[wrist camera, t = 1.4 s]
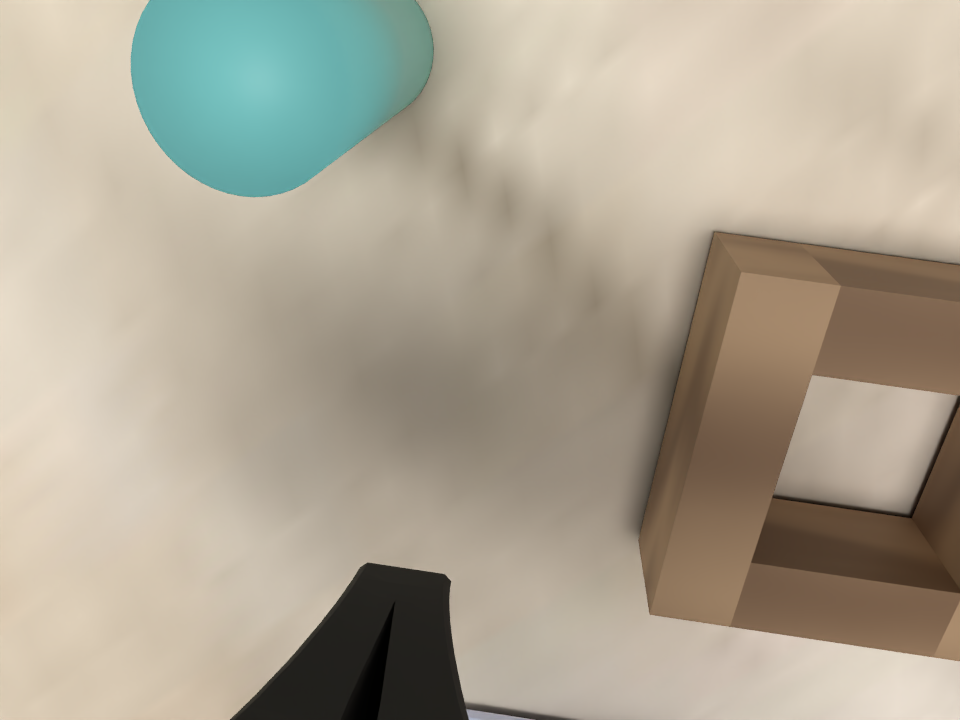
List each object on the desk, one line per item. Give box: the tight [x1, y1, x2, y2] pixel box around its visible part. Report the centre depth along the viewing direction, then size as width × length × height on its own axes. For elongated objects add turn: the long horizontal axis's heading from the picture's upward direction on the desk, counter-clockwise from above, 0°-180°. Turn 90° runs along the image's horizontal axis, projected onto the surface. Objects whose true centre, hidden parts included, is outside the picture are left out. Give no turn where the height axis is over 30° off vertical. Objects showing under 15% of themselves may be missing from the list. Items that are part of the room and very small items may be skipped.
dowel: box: [131, 0, 433, 197], centre depth 14 cm, size 3×3×8 cm
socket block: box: [638, 232, 960, 661], centre depth 19 cm, size 9×9×3 cm
